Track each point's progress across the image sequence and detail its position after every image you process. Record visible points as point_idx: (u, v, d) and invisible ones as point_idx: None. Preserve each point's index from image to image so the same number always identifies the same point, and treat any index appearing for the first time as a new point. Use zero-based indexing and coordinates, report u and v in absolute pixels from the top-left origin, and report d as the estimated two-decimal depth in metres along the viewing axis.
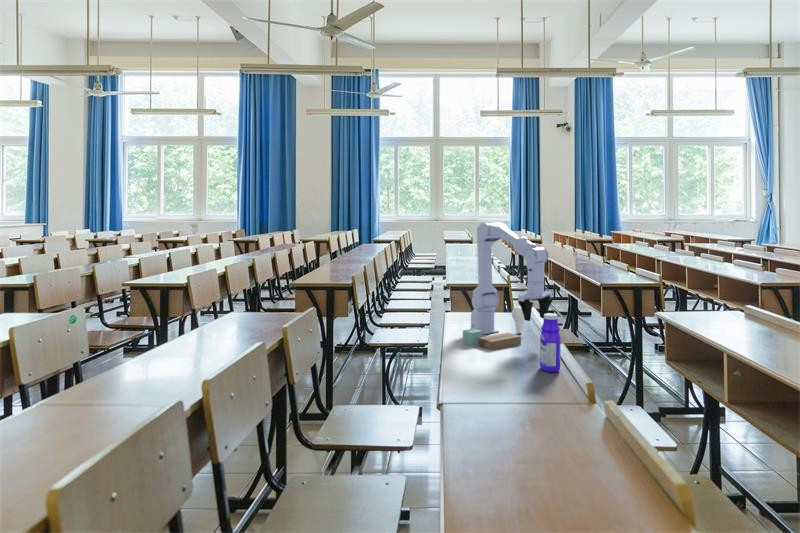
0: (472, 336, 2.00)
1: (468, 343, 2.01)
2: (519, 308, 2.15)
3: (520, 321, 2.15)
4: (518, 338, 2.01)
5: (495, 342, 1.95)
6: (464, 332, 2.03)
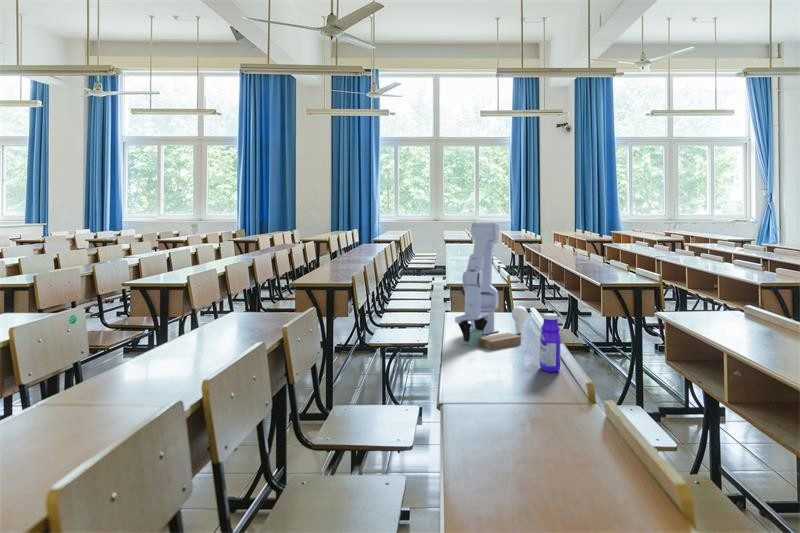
0: (472, 336, 2.00)
1: (468, 343, 2.01)
2: (519, 308, 2.15)
3: (520, 321, 2.15)
4: (518, 338, 2.01)
5: (495, 342, 1.95)
6: None
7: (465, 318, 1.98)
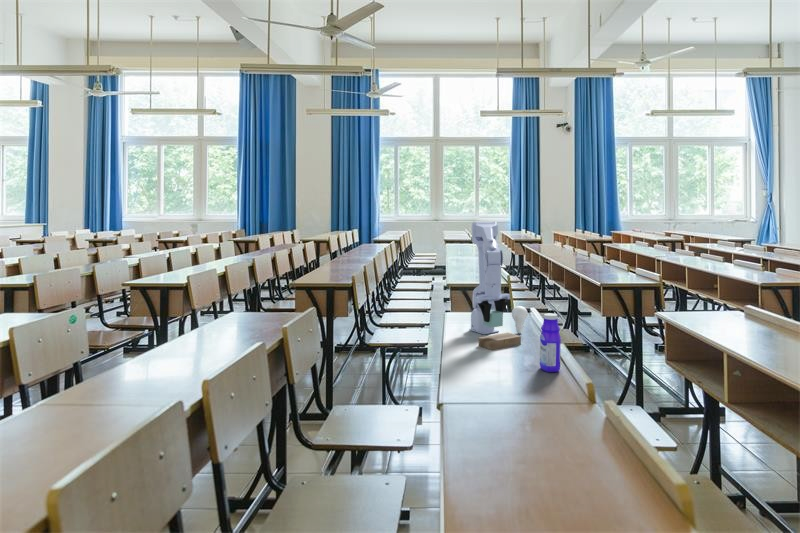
0: (493, 317, 1.97)
1: (488, 324, 1.99)
2: (519, 308, 2.15)
3: (520, 321, 2.15)
4: (518, 338, 2.01)
5: (495, 342, 1.95)
6: None
7: (485, 298, 1.96)
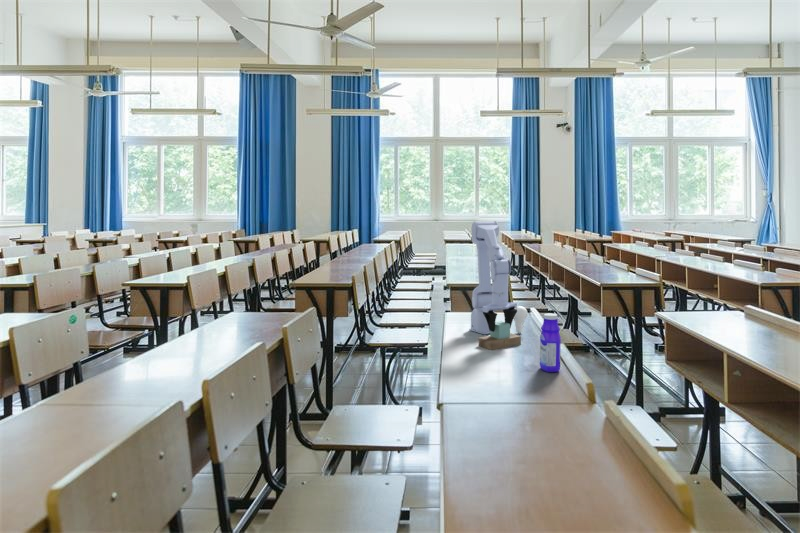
0: (500, 329, 1.97)
1: (496, 336, 1.99)
2: (519, 308, 2.15)
3: (520, 321, 2.15)
4: (518, 338, 2.01)
5: (495, 342, 1.95)
6: None
7: (493, 307, 1.96)
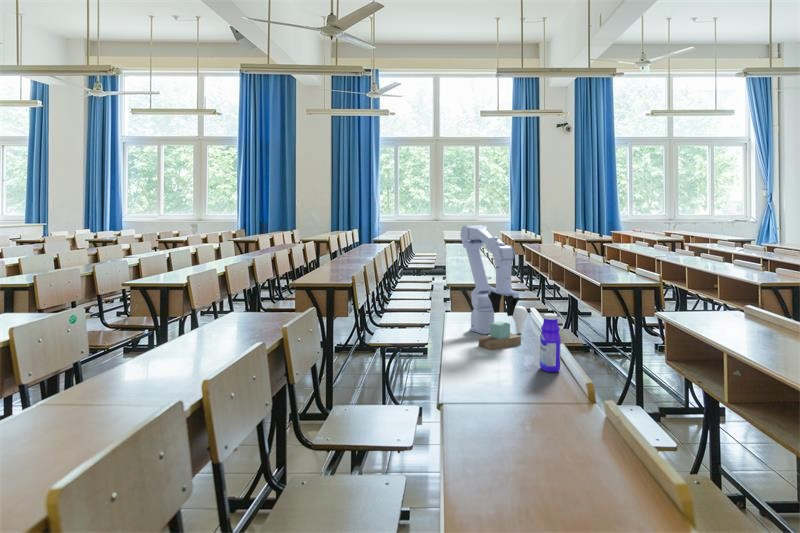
0: (500, 329, 1.97)
1: (496, 336, 1.99)
2: (519, 308, 2.15)
3: (520, 321, 2.15)
4: (518, 338, 2.01)
5: (495, 342, 1.95)
6: (492, 325, 2.00)
7: (492, 289, 2.09)
